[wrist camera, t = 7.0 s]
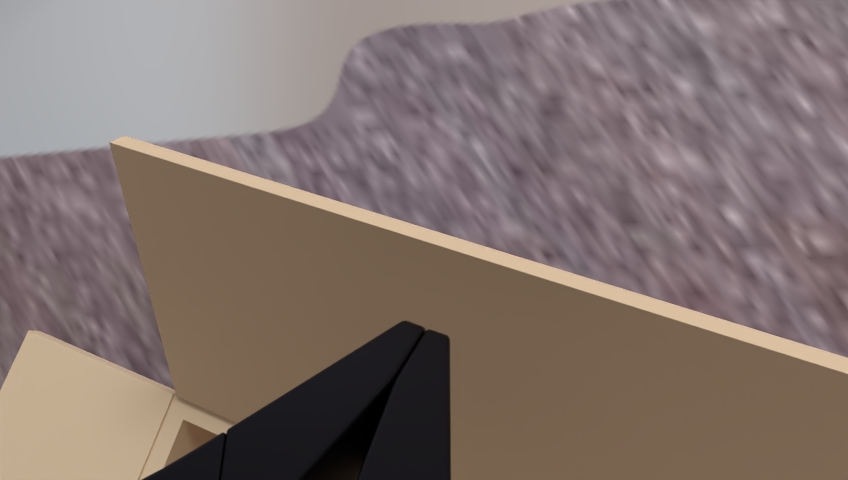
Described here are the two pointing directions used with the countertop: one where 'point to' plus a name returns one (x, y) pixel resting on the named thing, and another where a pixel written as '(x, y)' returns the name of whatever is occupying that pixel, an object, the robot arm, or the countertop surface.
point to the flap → (468, 337)
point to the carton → (91, 418)
